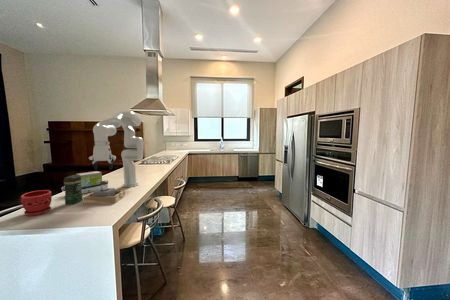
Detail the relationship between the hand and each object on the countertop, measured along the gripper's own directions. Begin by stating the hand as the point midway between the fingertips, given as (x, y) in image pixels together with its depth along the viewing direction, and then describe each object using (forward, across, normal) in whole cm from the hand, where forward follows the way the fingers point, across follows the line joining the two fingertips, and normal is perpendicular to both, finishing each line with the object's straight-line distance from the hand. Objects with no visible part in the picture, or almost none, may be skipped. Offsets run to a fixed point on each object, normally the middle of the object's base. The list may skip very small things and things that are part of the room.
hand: (103, 169), depth 138 cm
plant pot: (+22, +29, +18) cm, 41 cm away
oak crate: (+22, 0, 0) cm, 22 cm away
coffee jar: (+22, +19, +2) cm, 29 cm away
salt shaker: (+18, 0, 0) cm, 18 cm away
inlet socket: (+21, 0, 0) cm, 21 cm away
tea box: (+22, +25, -26) cm, 42 cm away
